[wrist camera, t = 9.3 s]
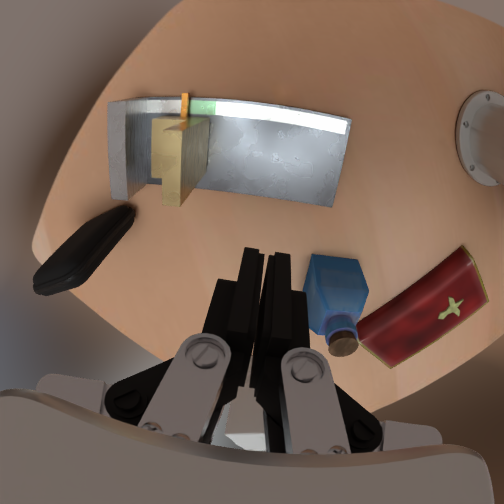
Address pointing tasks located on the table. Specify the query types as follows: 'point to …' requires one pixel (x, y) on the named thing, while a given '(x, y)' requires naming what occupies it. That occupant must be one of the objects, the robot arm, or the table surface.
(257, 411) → the skincare box
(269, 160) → the gauge base
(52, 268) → the carrying case or bag
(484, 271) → the table surface
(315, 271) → the perfume bottle
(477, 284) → the hardcover book
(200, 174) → the gauge carriage
